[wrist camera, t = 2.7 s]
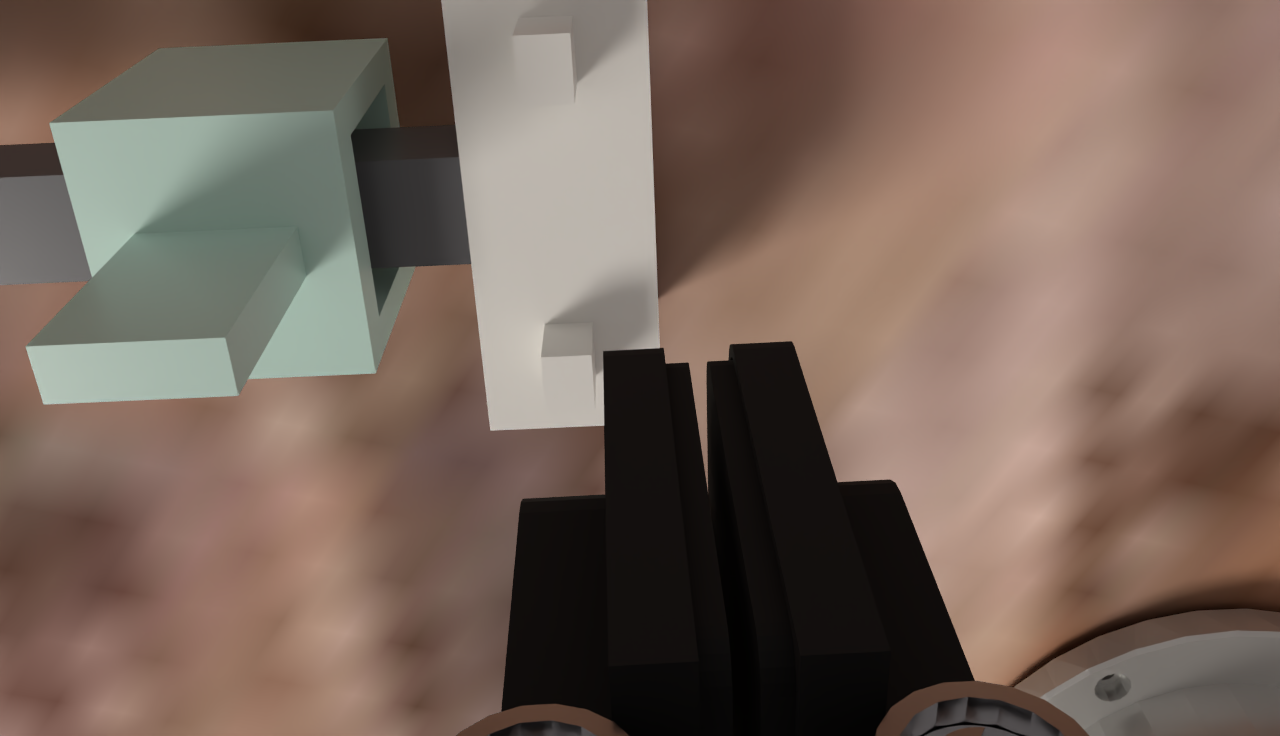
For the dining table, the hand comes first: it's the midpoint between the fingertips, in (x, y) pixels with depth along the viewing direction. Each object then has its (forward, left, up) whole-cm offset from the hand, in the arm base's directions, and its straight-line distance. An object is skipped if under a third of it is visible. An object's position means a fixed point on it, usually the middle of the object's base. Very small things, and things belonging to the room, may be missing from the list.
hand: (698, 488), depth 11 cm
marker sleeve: (+7, +1, -12) cm, 14 cm away
